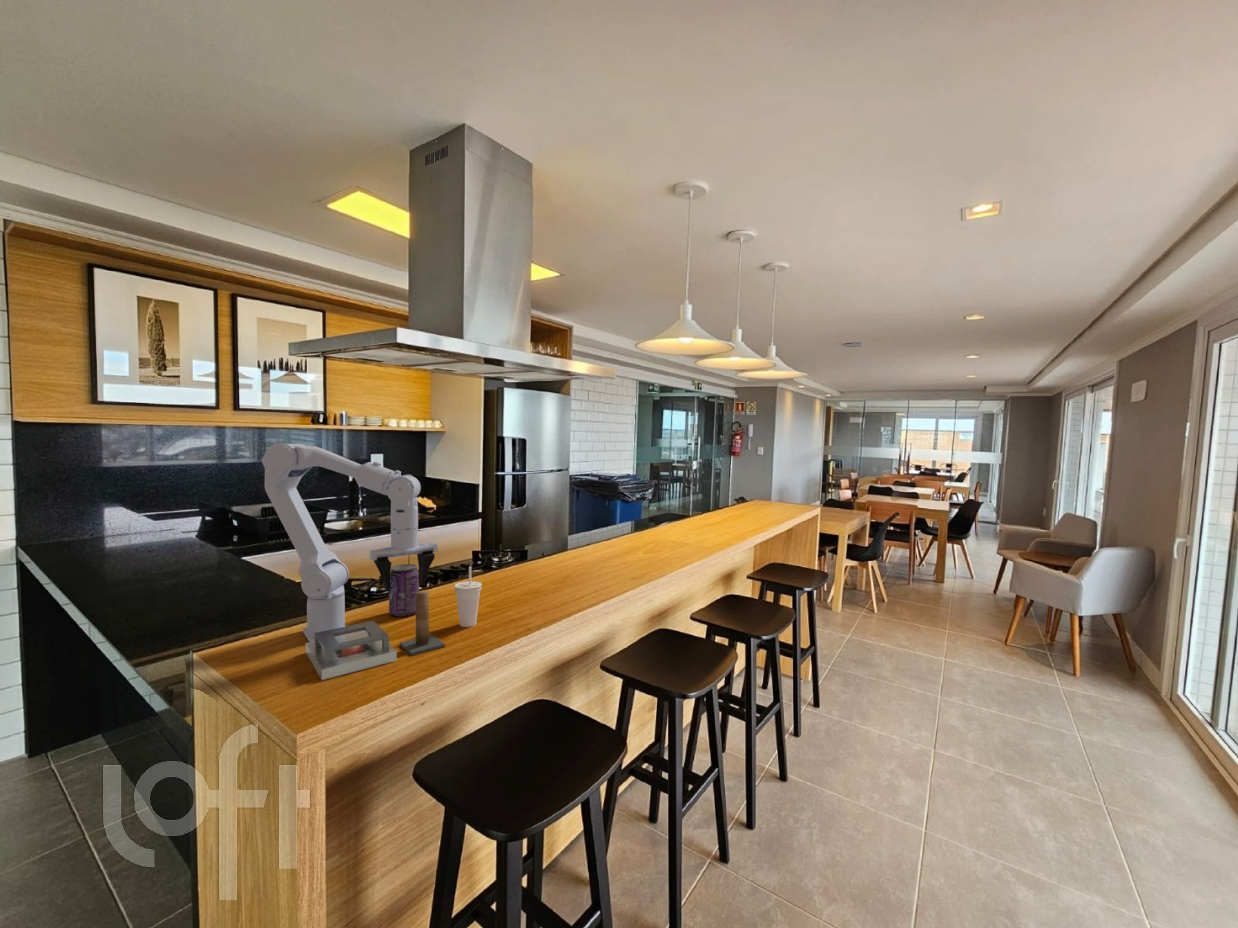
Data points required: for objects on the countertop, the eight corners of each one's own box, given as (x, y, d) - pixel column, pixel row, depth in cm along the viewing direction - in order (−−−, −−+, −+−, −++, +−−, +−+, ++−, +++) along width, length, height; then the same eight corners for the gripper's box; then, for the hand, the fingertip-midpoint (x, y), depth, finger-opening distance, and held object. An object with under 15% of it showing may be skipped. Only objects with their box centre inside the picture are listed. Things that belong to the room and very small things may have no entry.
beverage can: (391, 610, 129) (390, 564, 129) (420, 607, 131) (420, 562, 131) (387, 619, 122) (386, 571, 122) (418, 616, 124) (417, 569, 124)
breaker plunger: (340, 657, 99) (340, 644, 99) (359, 652, 102) (359, 640, 102) (344, 663, 97) (344, 650, 97) (364, 658, 99) (364, 645, 99)
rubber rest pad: (400, 645, 106) (400, 642, 106) (432, 637, 111) (432, 634, 111) (411, 655, 101) (411, 652, 101) (445, 646, 106) (444, 644, 106)
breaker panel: (305, 652, 102) (305, 629, 102) (373, 637, 111) (373, 615, 111) (322, 680, 90) (321, 654, 90) (396, 660, 99) (396, 636, 99)
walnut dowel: (414, 642, 106) (413, 592, 106) (427, 639, 108) (426, 590, 107) (417, 646, 104) (417, 595, 104) (430, 643, 106) (430, 592, 105)
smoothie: (473, 630, 115) (473, 570, 115) (448, 628, 117) (448, 569, 116) (486, 620, 122) (486, 564, 121) (462, 618, 123) (462, 562, 122)
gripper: (375, 533, 106) (376, 596, 106) (442, 527, 115) (442, 584, 116) (366, 529, 111) (367, 589, 111) (431, 523, 121) (431, 578, 121)
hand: (404, 586), depth 114 cm, fingers open, 7 cm apart
